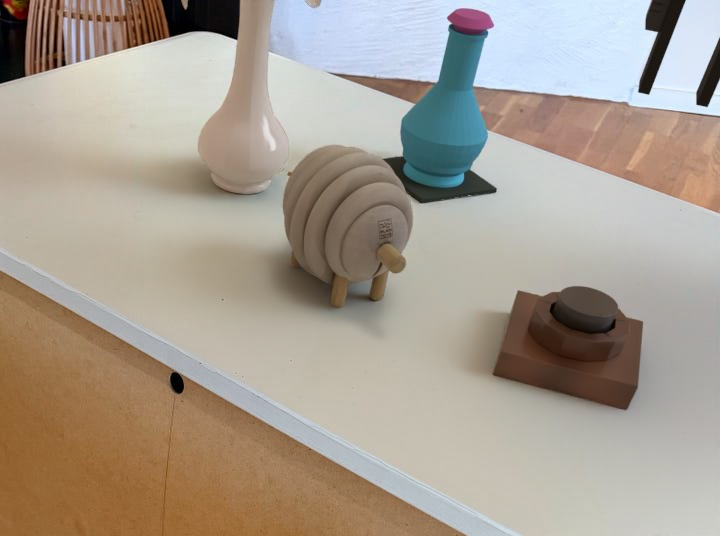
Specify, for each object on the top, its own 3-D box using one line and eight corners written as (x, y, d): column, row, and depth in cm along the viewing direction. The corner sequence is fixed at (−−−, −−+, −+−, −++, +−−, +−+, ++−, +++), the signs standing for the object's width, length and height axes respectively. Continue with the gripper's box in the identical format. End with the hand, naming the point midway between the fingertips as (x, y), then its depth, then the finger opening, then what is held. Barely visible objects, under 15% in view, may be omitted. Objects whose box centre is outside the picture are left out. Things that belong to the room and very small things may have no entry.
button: (611, 314, 77) (620, 294, 75) (608, 342, 74) (616, 322, 72) (554, 300, 77) (562, 280, 76) (548, 327, 74) (556, 307, 73)
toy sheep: (332, 233, 89) (353, 110, 81) (440, 319, 81) (477, 190, 72) (239, 251, 85) (251, 123, 77) (343, 344, 76) (369, 210, 68)
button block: (633, 343, 81) (652, 301, 78) (626, 410, 74) (648, 366, 71) (510, 312, 82) (524, 270, 79) (492, 374, 75) (507, 330, 72)
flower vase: (127, 175, 94) (127, -142, 75) (269, 145, 102) (301, -146, 83) (200, 229, 87) (221, -102, 69) (345, 193, 96) (398, -111, 77)
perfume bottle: (383, 154, 102) (415, -5, 91) (462, 158, 104) (503, 2, 93) (402, 190, 97) (438, 25, 85) (485, 194, 98) (532, 32, 87)
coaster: (496, 192, 100) (497, 188, 99) (421, 203, 96) (422, 199, 96) (443, 154, 105) (443, 151, 105) (370, 163, 101) (370, 159, 101)
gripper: (1045, -407, 46) (791, 101, 64) (716, -449, 49) (560, 53, 66) (1085, -414, 42) (799, 138, 59) (718, -459, 44) (549, 85, 62)
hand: (673, 92), depth 63 cm, fingers open, 3 cm apart
